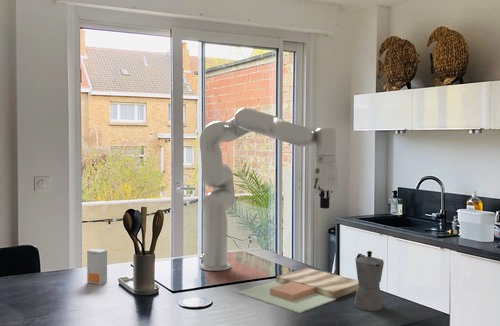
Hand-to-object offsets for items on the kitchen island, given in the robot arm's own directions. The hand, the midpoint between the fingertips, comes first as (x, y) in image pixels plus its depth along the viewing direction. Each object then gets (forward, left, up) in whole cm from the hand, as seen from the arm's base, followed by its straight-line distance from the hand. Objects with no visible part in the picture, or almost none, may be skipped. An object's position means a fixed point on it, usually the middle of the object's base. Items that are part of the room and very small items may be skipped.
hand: (324, 208), depth 199 cm
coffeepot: (+29, -15, -27) cm, 43 cm away
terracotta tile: (+5, -24, -27) cm, 37 cm away
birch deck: (+5, -9, -27) cm, 29 cm away
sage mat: (+5, -28, -27) cm, 39 cm away
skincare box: (-53, -66, -27) cm, 89 cm away
